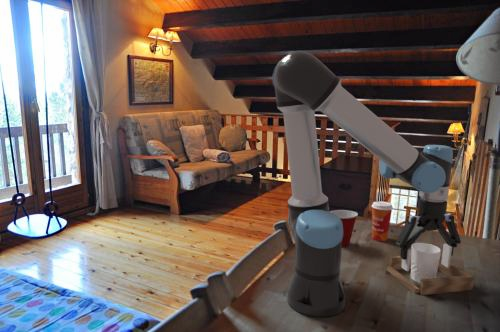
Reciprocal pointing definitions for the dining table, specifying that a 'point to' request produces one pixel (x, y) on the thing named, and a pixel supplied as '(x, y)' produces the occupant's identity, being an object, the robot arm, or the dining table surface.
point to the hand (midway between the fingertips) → (425, 267)
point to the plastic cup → (346, 224)
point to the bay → (452, 283)
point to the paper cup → (381, 220)
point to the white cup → (424, 261)
